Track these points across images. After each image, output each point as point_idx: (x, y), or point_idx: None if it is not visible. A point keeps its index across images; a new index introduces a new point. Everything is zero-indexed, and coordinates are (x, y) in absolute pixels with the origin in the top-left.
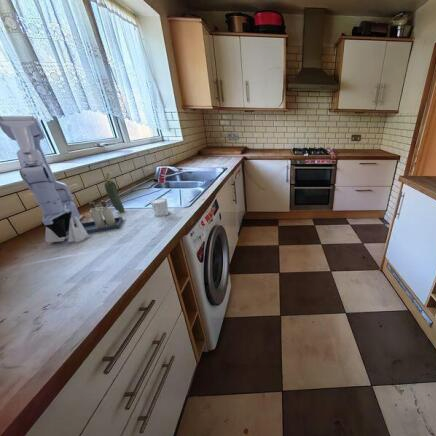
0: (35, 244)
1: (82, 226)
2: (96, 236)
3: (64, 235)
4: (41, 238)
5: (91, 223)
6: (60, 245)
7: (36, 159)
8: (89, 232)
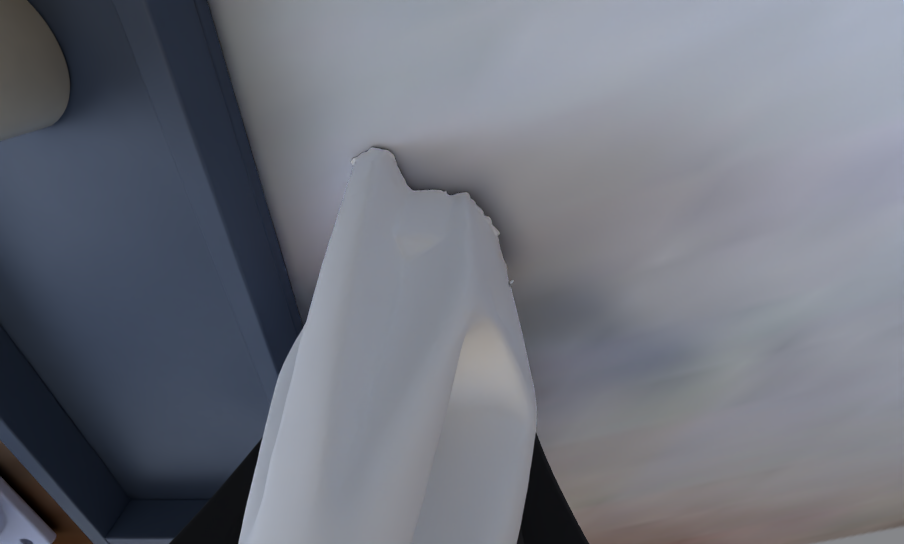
0: None
1: (359, 287)
2: (367, 38)
3: (538, 445)
4: None
5: None
6: None
7: None
8: (241, 186)
